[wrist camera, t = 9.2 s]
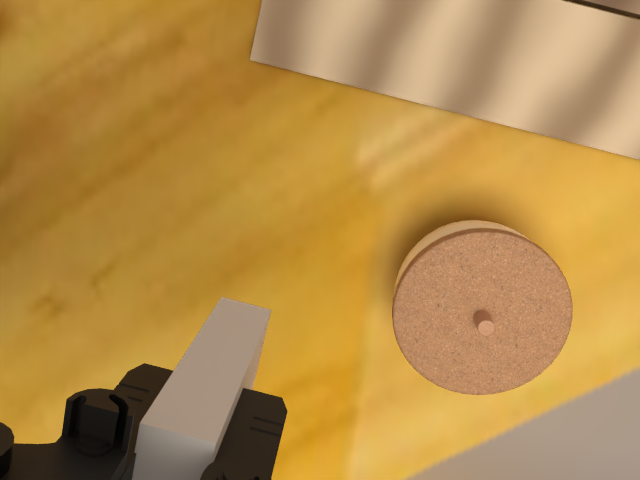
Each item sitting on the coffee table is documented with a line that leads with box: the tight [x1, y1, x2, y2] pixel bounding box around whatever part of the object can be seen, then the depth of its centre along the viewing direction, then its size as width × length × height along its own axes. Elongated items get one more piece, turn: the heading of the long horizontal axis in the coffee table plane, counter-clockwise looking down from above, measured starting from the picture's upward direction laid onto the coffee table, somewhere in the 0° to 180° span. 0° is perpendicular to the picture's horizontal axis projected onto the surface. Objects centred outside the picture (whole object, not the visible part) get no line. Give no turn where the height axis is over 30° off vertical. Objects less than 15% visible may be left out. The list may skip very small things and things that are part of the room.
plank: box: [250, 0, 640, 160], centre depth 39 cm, size 28×8×2 cm, turn 76°
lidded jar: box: [392, 220, 572, 395], centre depth 40 cm, size 11×11×9 cm
